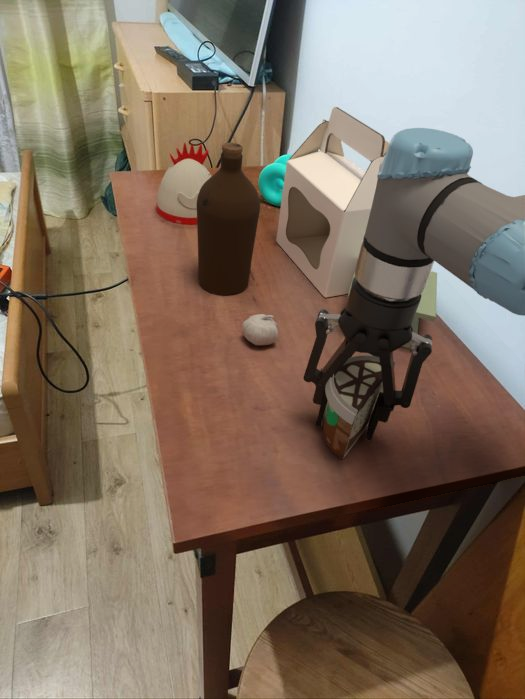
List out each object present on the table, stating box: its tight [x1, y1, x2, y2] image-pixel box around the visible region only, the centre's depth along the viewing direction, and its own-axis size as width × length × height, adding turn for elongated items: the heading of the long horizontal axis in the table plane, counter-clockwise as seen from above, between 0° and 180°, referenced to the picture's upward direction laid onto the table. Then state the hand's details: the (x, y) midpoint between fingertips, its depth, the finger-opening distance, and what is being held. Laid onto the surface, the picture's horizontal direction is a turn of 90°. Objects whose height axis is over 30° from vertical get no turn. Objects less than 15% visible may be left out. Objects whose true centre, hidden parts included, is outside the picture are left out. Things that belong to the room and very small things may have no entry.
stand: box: [346, 270, 438, 349], centre depth 88 cm, size 14×14×8 cm
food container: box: [322, 354, 397, 460], centre depth 67 cm, size 12×6×10 cm, turn 145°
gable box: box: [275, 106, 390, 299], centre depth 95 cm, size 22×13×28 cm, turn 24°
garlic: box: [241, 313, 279, 346], centre depth 81 cm, size 6×5×5 cm
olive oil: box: [196, 142, 261, 296], centre depth 87 cm, size 11×11×25 cm
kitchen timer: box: [156, 141, 212, 226], centre depth 111 cm, size 14×14×15 cm
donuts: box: [257, 153, 293, 207], centre depth 122 cm, size 10×10×10 cm
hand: (344, 425), depth 70 cm, fingers closed on food container, 6 cm apart
